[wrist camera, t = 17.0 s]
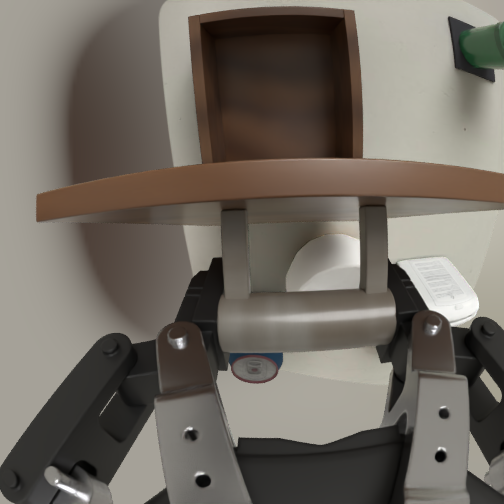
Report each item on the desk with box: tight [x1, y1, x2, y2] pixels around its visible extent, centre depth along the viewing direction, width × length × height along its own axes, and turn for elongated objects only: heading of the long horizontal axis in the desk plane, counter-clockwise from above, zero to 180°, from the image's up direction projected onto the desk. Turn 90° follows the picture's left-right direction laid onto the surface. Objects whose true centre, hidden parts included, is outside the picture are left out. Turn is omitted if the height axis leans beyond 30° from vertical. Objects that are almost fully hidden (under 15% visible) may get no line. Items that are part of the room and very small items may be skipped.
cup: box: [286, 234, 360, 292], centre depth 33 cm, size 12×12×10 cm
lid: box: [36, 158, 504, 353], centre depth 16 cm, size 21×14×5 cm
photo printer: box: [397, 257, 479, 327], centre depth 32 cm, size 10×4×12 cm, turn 97°
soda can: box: [229, 353, 283, 383], centre depth 37 cm, size 7×7×12 cm
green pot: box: [459, 22, 504, 70], centre depth 16 cm, size 6×6×9 cm
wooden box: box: [188, 6, 363, 164], centre depth 25 cm, size 20×14×8 cm
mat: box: [448, 16, 495, 82], centre depth 20 cm, size 8×8×1 cm
